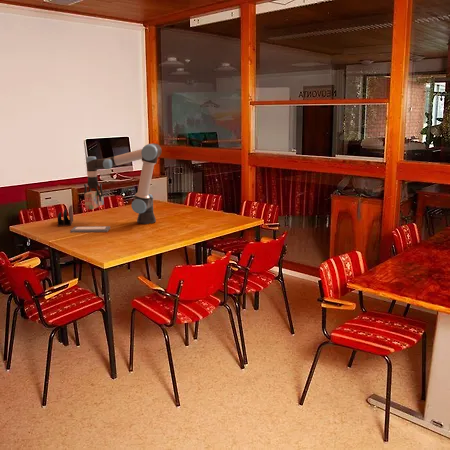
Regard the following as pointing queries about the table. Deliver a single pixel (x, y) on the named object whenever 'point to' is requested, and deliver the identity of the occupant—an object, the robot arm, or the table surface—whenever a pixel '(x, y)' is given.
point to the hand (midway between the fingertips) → (94, 205)
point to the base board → (91, 229)
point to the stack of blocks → (92, 200)
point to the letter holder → (65, 218)
